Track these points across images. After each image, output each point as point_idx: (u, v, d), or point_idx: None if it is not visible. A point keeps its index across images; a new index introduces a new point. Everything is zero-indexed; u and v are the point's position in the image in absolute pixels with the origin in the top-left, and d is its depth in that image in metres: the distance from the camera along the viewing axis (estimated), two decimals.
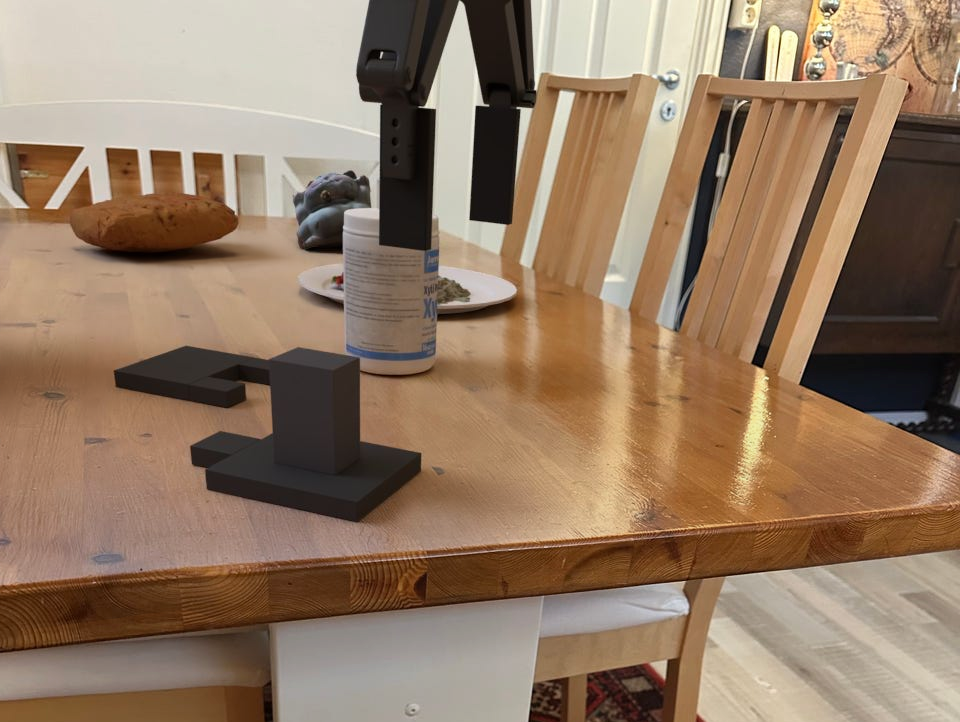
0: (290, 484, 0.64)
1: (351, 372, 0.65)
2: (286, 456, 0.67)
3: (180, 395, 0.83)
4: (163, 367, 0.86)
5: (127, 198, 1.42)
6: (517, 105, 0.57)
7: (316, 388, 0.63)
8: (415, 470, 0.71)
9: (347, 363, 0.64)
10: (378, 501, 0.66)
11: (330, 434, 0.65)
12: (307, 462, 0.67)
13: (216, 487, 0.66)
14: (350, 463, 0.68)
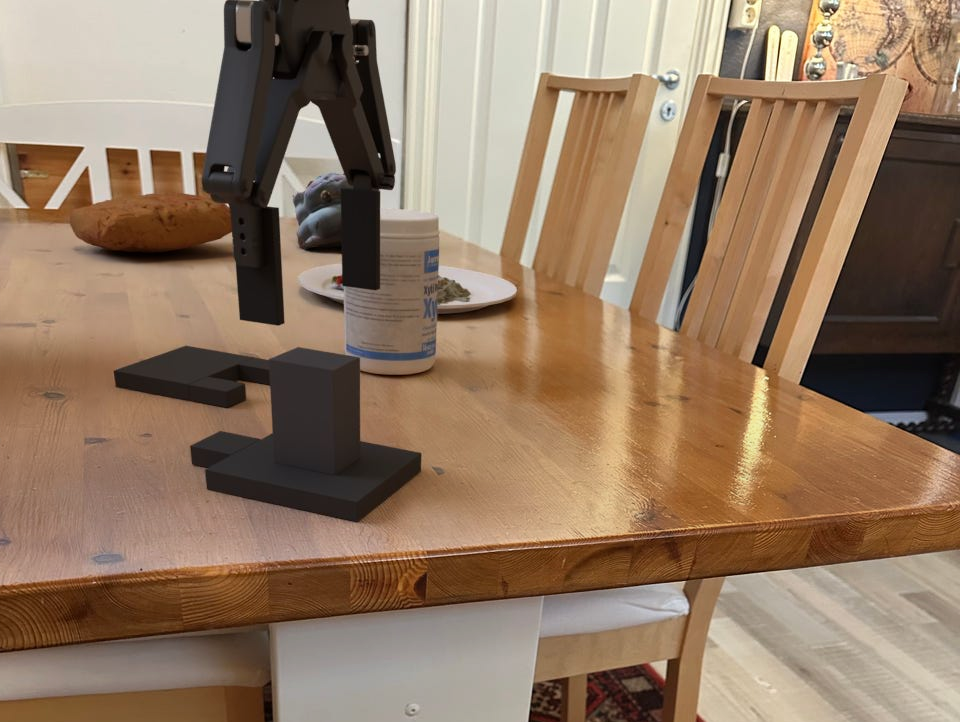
0: (290, 484, 0.64)
1: (351, 372, 0.65)
2: (286, 456, 0.67)
3: (180, 395, 0.83)
4: (163, 367, 0.86)
5: (127, 198, 1.42)
6: (377, 187, 0.65)
7: (316, 388, 0.63)
8: (415, 470, 0.71)
9: (347, 363, 0.64)
10: (378, 501, 0.66)
11: (330, 434, 0.65)
12: (307, 462, 0.67)
13: (216, 487, 0.66)
14: (350, 463, 0.68)
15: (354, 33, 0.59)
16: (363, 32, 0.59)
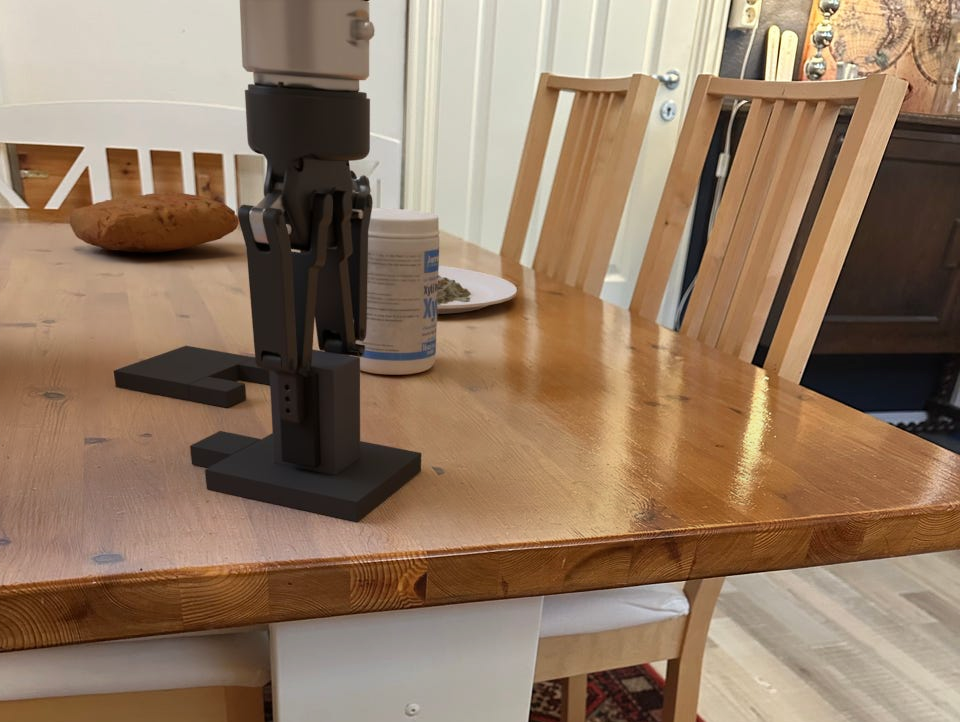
0: (290, 484, 0.64)
1: (351, 372, 0.65)
2: None
3: (180, 395, 0.83)
4: (163, 367, 0.86)
5: (127, 198, 1.42)
6: (346, 352, 0.67)
7: None
8: (415, 470, 0.71)
9: (347, 363, 0.64)
10: (378, 501, 0.66)
11: (330, 434, 0.65)
12: None
13: (216, 487, 0.66)
14: (350, 463, 0.68)
15: (353, 198, 0.64)
16: (361, 200, 0.64)
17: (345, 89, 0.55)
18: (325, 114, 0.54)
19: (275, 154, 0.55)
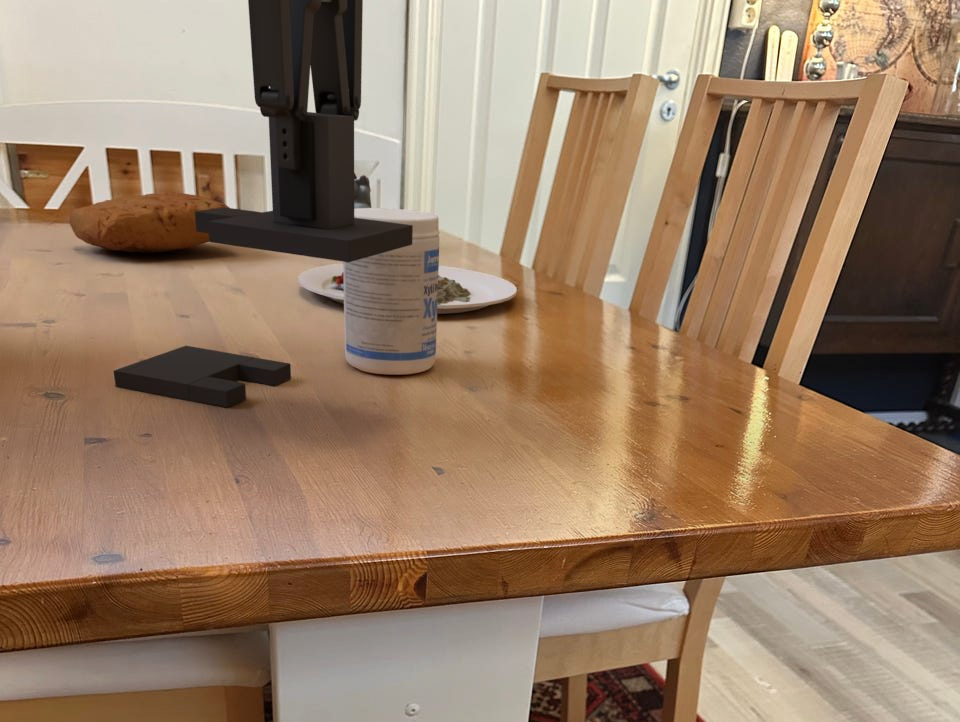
0: (287, 230, 0.69)
1: (345, 128, 0.69)
2: None
3: (180, 395, 0.83)
4: (163, 367, 0.86)
5: (127, 198, 1.42)
6: None
7: None
8: (406, 240, 0.75)
9: (341, 117, 0.68)
10: (370, 252, 0.70)
11: (325, 185, 0.69)
12: None
13: (218, 239, 0.70)
14: (344, 224, 0.72)
15: None
16: None
17: None
18: None
19: None
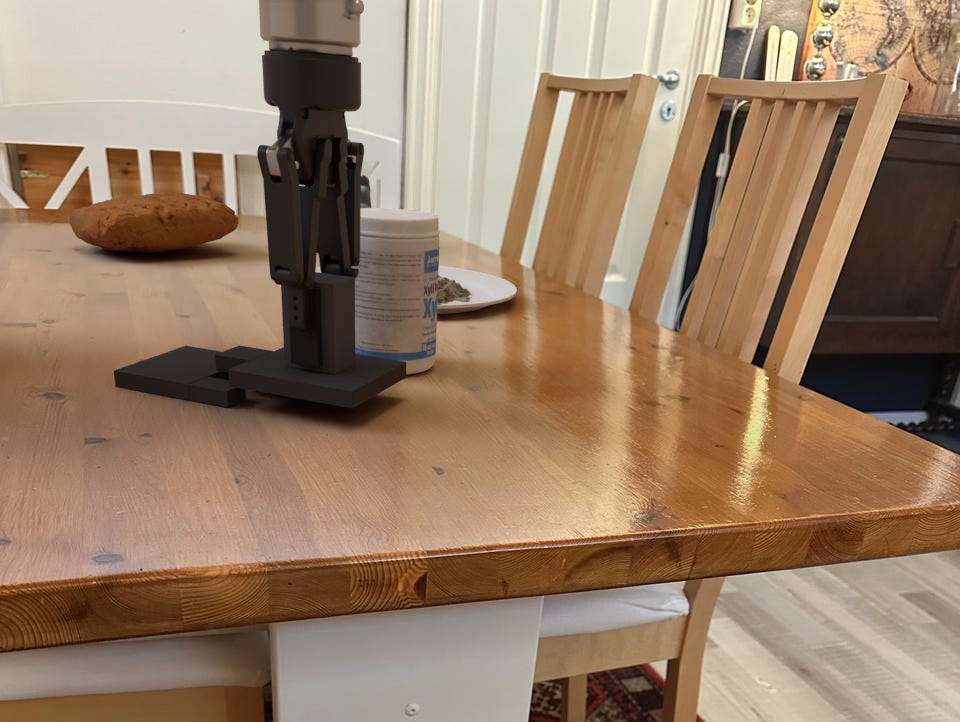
0: (298, 379, 0.79)
1: (347, 289, 0.80)
2: None
3: (180, 395, 0.83)
4: (163, 367, 0.86)
5: (127, 198, 1.42)
6: (343, 274, 0.81)
7: None
8: (401, 376, 0.86)
9: (344, 280, 0.79)
10: (370, 395, 0.81)
11: (330, 339, 0.80)
12: None
13: (237, 384, 0.81)
14: (347, 367, 0.83)
15: (348, 146, 0.78)
16: (355, 148, 0.79)
17: (341, 53, 0.70)
18: (325, 72, 0.69)
19: (286, 105, 0.70)
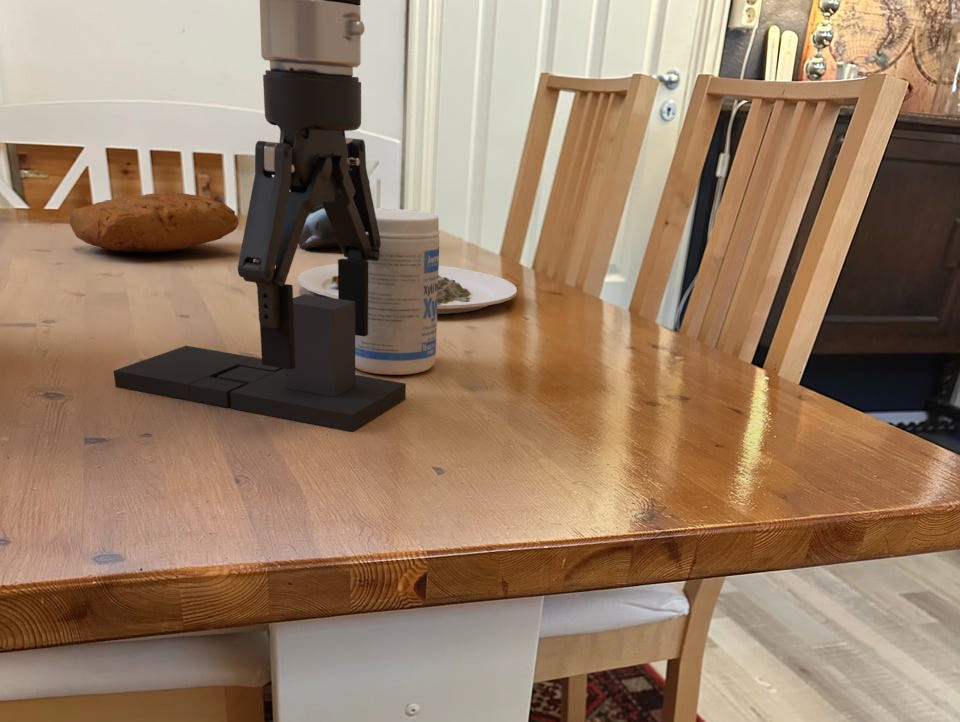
0: (299, 402, 0.80)
1: (348, 313, 0.81)
2: (295, 382, 0.83)
3: (180, 395, 0.83)
4: (163, 367, 0.86)
5: (127, 198, 1.42)
6: (366, 259, 0.85)
7: (320, 324, 0.79)
8: (400, 397, 0.87)
9: (344, 305, 0.80)
10: (370, 417, 0.82)
11: (331, 362, 0.81)
12: (312, 387, 0.82)
13: (239, 406, 0.82)
14: (347, 389, 0.84)
15: (349, 149, 0.79)
16: (355, 148, 0.79)
17: (341, 74, 0.70)
18: (326, 93, 0.69)
19: (287, 124, 0.70)
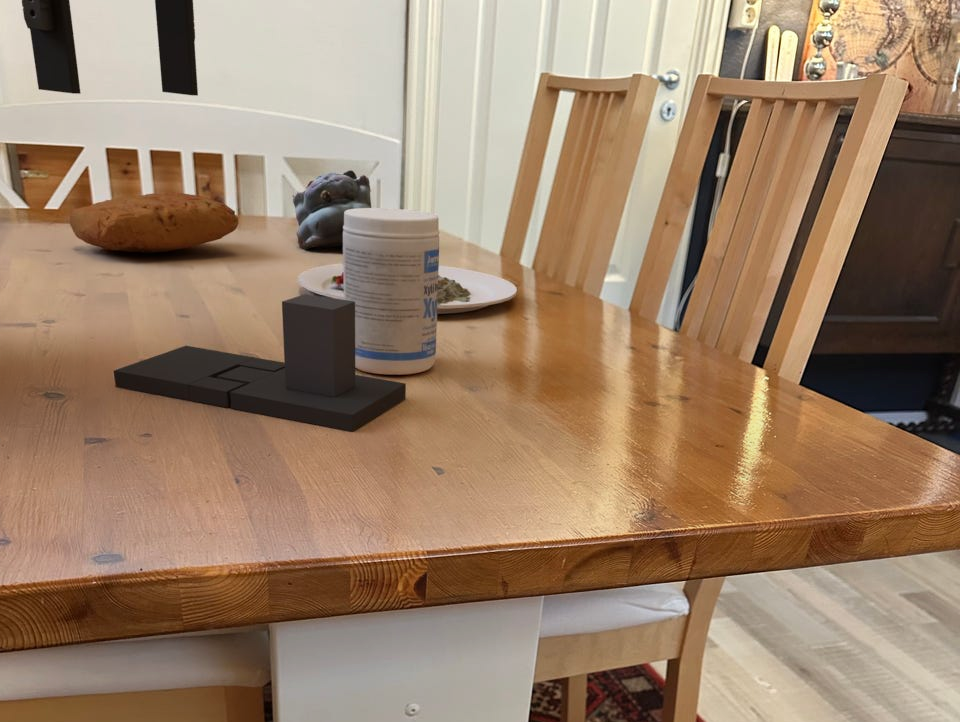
0: (299, 402, 0.80)
1: (348, 313, 0.81)
2: (295, 382, 0.83)
3: (180, 395, 0.83)
4: (163, 367, 0.86)
5: (127, 198, 1.42)
6: None
7: (320, 324, 0.79)
8: (400, 397, 0.87)
9: (344, 305, 0.80)
10: (370, 417, 0.82)
11: (331, 362, 0.81)
12: (312, 387, 0.82)
13: (239, 406, 0.82)
14: (347, 389, 0.84)
15: None
16: None
17: None
18: None
19: None
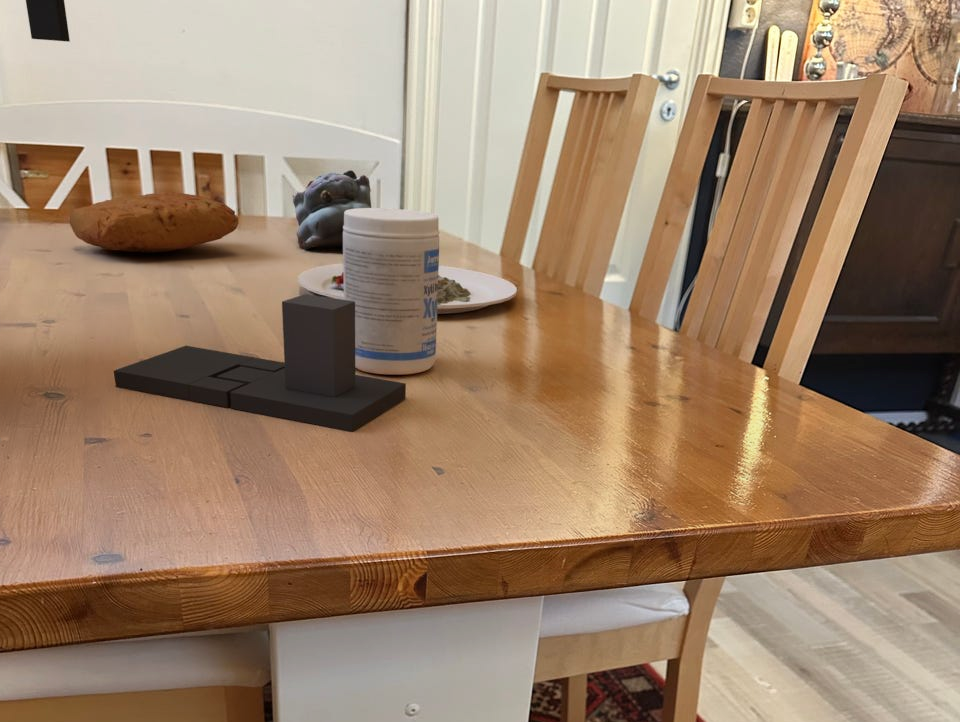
0: (299, 402, 0.80)
1: (348, 313, 0.81)
2: (295, 382, 0.83)
3: (180, 395, 0.83)
4: (163, 367, 0.86)
5: (127, 198, 1.42)
6: None
7: (320, 324, 0.79)
8: (400, 397, 0.87)
9: (344, 305, 0.80)
10: (370, 417, 0.82)
11: (331, 362, 0.81)
12: (312, 387, 0.82)
13: (239, 406, 0.82)
14: (347, 389, 0.84)
15: None
16: None
17: None
18: None
19: None
